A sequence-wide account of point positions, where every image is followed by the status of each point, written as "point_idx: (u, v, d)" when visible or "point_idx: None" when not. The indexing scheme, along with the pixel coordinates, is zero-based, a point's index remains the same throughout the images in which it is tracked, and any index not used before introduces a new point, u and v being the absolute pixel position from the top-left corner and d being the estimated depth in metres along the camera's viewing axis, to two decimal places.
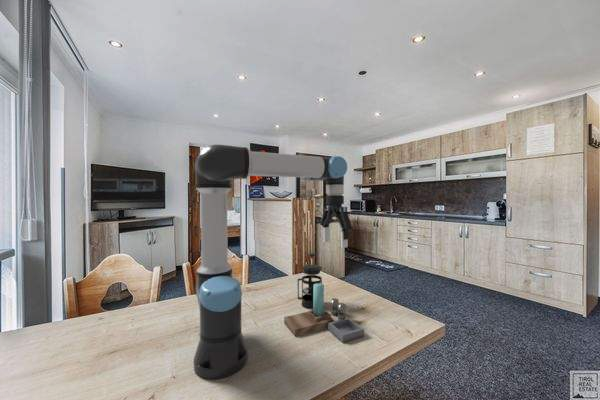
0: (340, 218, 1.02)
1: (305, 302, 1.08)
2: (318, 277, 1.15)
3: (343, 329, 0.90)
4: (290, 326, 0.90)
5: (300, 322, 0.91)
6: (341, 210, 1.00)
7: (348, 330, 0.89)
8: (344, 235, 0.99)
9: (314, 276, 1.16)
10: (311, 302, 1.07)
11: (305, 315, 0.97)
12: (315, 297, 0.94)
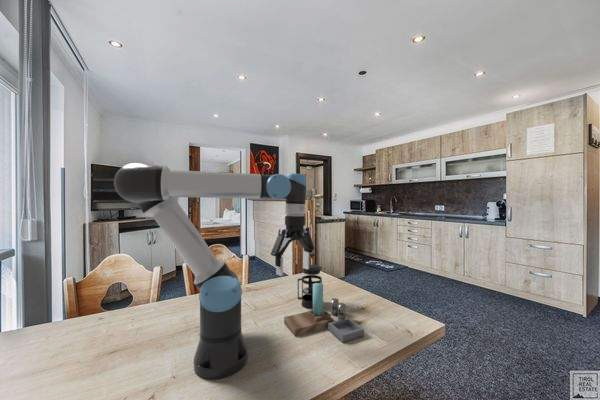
0: (283, 242, 0.90)
1: (305, 302, 1.08)
2: (318, 277, 1.15)
3: (343, 329, 0.90)
4: (290, 326, 0.90)
5: (300, 322, 0.91)
6: None
7: (348, 330, 0.89)
8: None
9: (314, 276, 1.16)
10: (311, 302, 1.07)
11: (305, 315, 0.97)
12: (314, 296, 0.95)
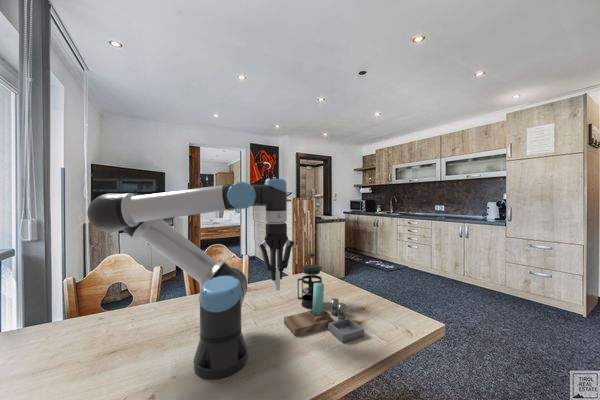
0: (270, 254, 0.88)
1: (305, 302, 1.08)
2: (318, 277, 1.15)
3: (343, 329, 0.90)
4: (290, 326, 0.90)
5: (299, 322, 0.91)
6: None
7: (348, 330, 0.89)
8: None
9: (314, 276, 1.16)
10: (311, 302, 1.07)
11: (305, 315, 0.97)
12: (315, 296, 0.95)
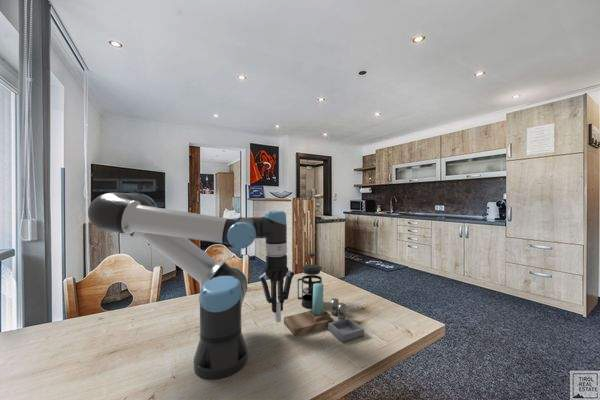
0: (271, 286, 0.88)
1: (305, 302, 1.08)
2: (318, 277, 1.15)
3: (343, 329, 0.90)
4: (290, 326, 0.90)
5: (299, 322, 0.91)
6: None
7: (348, 330, 0.89)
8: None
9: (314, 276, 1.16)
10: (311, 302, 1.07)
11: (304, 315, 0.97)
12: (315, 297, 0.95)
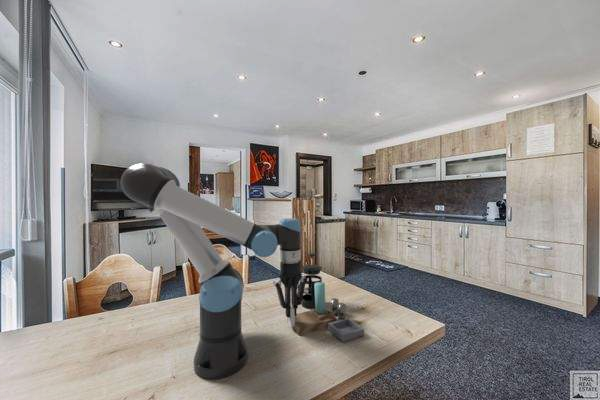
0: (285, 291, 0.91)
1: (305, 302, 1.08)
2: (318, 277, 1.15)
3: (343, 329, 0.90)
4: None
5: (303, 321, 0.92)
6: None
7: (348, 330, 0.89)
8: None
9: (314, 276, 1.16)
10: (311, 302, 1.07)
11: (308, 314, 0.97)
12: (317, 296, 0.95)
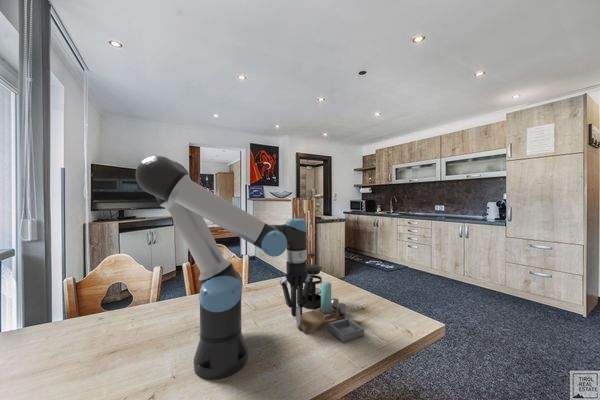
0: (291, 291, 0.92)
1: None
2: (318, 277, 1.15)
3: (343, 329, 0.90)
4: None
5: (309, 320, 0.93)
6: None
7: (348, 330, 0.89)
8: None
9: (314, 276, 1.16)
10: (311, 302, 1.07)
11: (313, 313, 0.98)
12: (323, 295, 0.96)
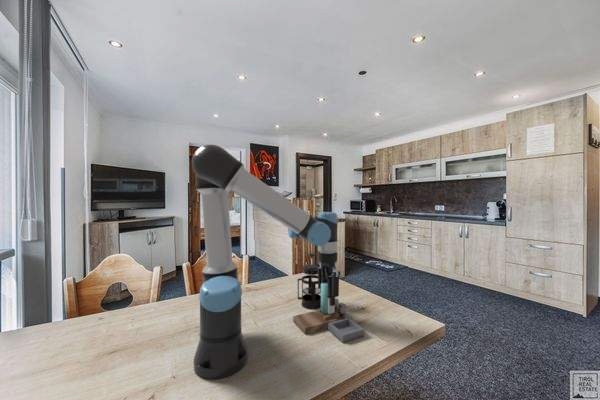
0: (330, 281, 0.95)
1: (305, 302, 1.08)
2: None
3: (343, 329, 0.90)
4: (300, 325, 0.91)
5: (309, 321, 0.93)
6: (333, 275, 0.92)
7: (348, 330, 0.89)
8: (330, 301, 0.95)
9: (314, 276, 1.16)
10: (311, 302, 1.07)
11: (313, 314, 0.98)
12: (322, 296, 0.96)
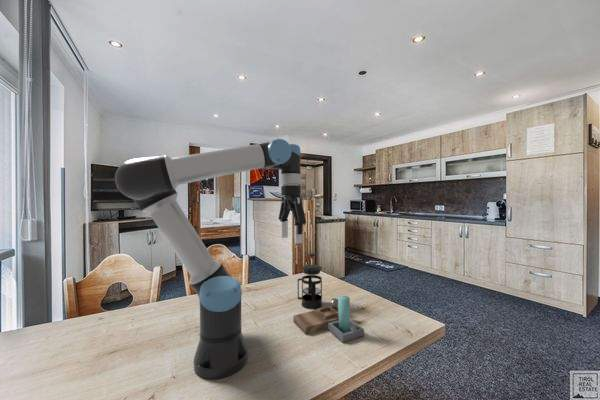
0: (295, 211, 0.92)
1: (305, 302, 1.08)
2: (318, 277, 1.15)
3: None
4: (300, 324, 0.91)
5: (309, 320, 0.92)
6: (295, 202, 0.90)
7: None
8: (298, 229, 0.89)
9: (314, 276, 1.16)
10: (311, 302, 1.07)
11: (314, 313, 0.98)
12: (340, 311, 0.87)
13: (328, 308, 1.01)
